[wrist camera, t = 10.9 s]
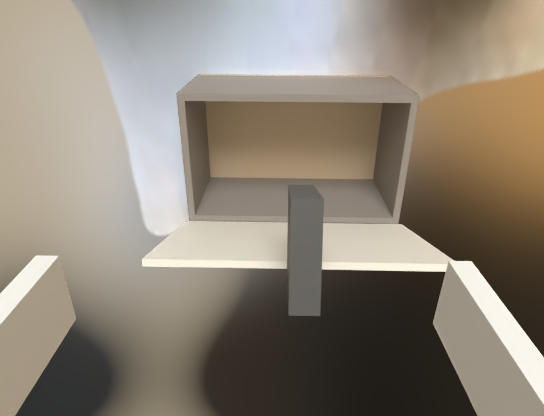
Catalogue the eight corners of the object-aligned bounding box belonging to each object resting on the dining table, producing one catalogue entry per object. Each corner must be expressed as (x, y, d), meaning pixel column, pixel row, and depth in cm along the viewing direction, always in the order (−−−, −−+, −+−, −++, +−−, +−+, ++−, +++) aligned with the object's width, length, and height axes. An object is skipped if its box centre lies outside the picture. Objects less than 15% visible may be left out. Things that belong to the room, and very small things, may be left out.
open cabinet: (206, 179, 48) (189, 220, 39) (198, 74, 42) (176, 93, 33) (376, 182, 47) (398, 223, 38) (390, 75, 42) (419, 95, 33)
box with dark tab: (184, 168, 38) (186, 231, 39) (96, 195, 20) (102, 312, 21) (405, 171, 38) (400, 234, 39) (523, 201, 19) (509, 319, 20)
